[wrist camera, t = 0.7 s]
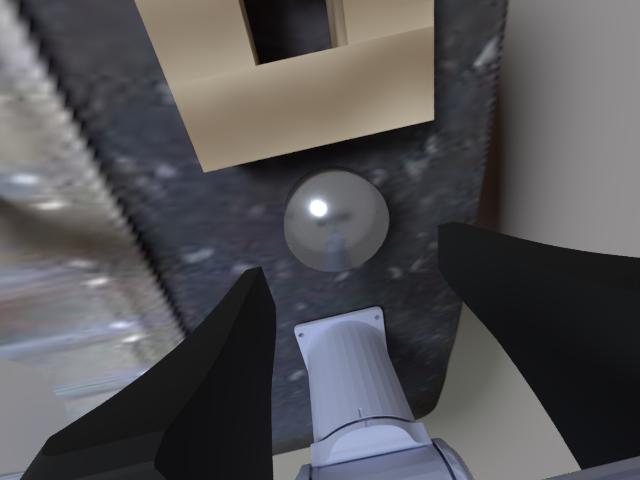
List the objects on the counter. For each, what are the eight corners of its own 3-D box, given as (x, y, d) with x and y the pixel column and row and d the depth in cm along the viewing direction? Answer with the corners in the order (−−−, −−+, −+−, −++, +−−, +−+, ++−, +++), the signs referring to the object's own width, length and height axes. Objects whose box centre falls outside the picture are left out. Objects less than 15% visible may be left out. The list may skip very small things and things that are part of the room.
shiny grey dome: (367, 222, 20) (392, 259, 16) (295, 238, 20) (298, 281, 16) (357, 146, 18) (384, 162, 13) (274, 165, 18) (270, 188, 13)
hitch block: (403, 116, 17) (433, 119, 14) (220, 157, 17) (203, 172, 14) (389, -181, 12) (433, -303, 8) (118, -122, 12) (46, -219, 8)
